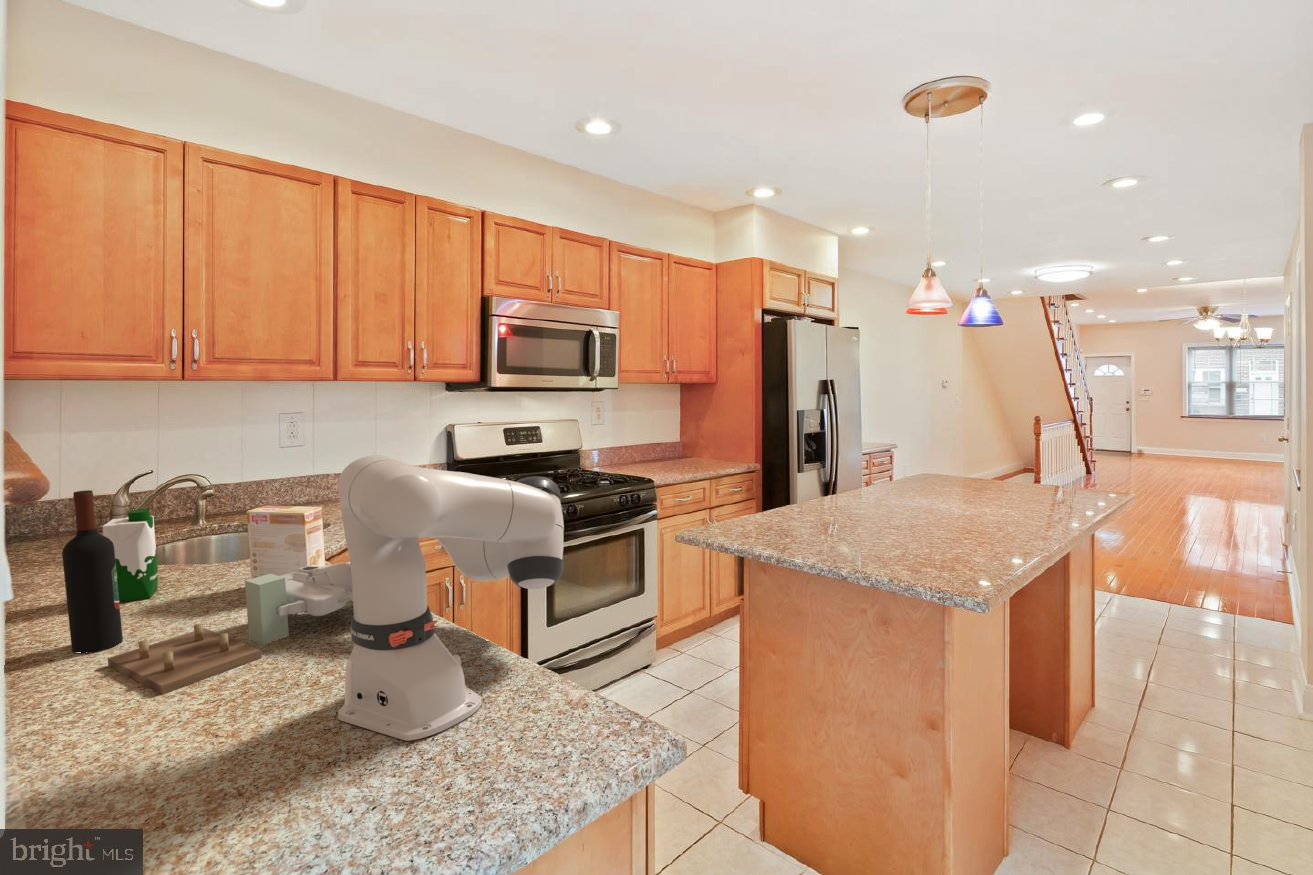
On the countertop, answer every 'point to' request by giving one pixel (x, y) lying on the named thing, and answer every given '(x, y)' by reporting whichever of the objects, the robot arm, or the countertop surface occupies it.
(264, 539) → the coffeecake box
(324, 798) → the countertop surface
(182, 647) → the nest board
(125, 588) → the milk carton
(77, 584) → the wine bottle
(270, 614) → the block
